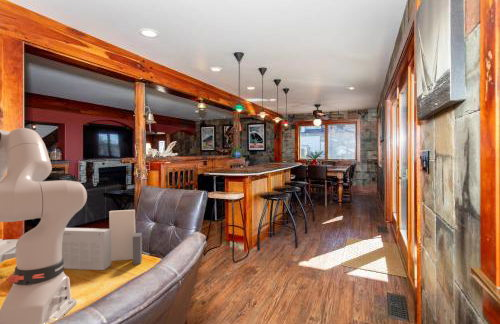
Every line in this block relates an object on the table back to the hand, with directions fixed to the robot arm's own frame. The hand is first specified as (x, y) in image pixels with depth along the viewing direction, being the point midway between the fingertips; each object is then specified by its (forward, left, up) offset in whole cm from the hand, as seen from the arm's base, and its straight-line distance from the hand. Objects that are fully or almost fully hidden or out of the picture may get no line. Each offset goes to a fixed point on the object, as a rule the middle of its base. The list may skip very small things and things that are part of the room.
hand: (26, 250), depth 109 cm
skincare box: (0, -20, -9) cm, 22 cm away
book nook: (+1, -36, -9) cm, 37 cm away
